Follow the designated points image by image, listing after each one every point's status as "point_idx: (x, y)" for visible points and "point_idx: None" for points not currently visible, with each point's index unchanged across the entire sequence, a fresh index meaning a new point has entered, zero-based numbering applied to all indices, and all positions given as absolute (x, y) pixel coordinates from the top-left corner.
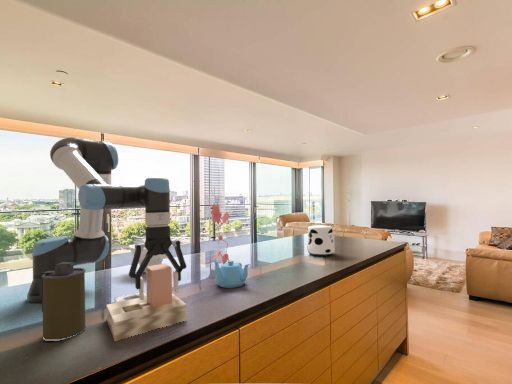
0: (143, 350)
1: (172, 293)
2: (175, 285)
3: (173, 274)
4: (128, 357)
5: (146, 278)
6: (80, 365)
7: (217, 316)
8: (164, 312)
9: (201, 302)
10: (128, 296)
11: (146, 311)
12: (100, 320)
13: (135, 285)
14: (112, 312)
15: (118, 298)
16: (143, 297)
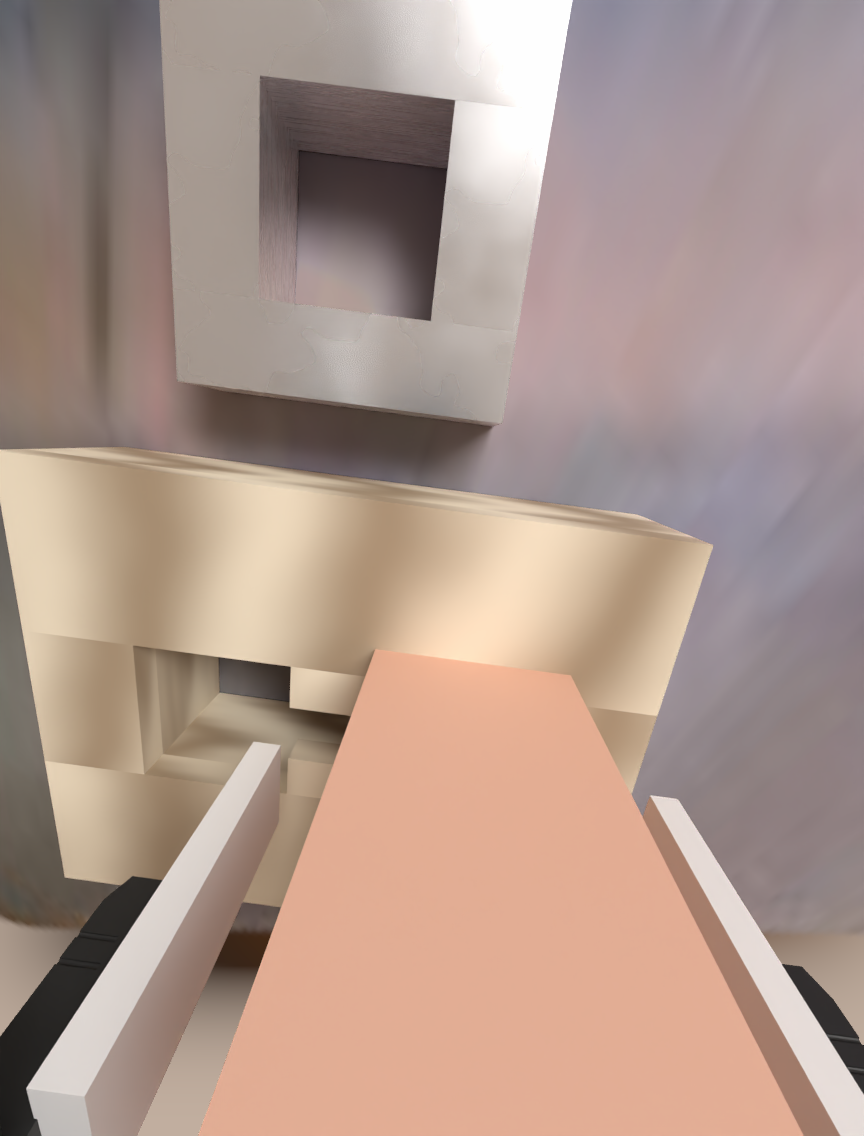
0: (254, 925)
1: (677, 645)
2: None
3: (803, 1092)
4: None
5: (290, 882)
6: (16, 862)
7: None
8: None
9: (845, 653)
10: (329, 62)
11: (291, 863)
12: (81, 397)
13: (86, 929)
14: (52, 703)
15: (200, 41)
16: (266, 845)
